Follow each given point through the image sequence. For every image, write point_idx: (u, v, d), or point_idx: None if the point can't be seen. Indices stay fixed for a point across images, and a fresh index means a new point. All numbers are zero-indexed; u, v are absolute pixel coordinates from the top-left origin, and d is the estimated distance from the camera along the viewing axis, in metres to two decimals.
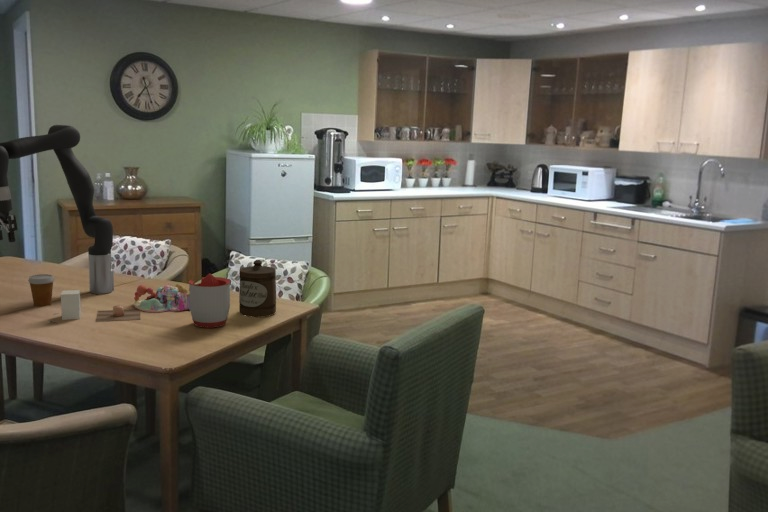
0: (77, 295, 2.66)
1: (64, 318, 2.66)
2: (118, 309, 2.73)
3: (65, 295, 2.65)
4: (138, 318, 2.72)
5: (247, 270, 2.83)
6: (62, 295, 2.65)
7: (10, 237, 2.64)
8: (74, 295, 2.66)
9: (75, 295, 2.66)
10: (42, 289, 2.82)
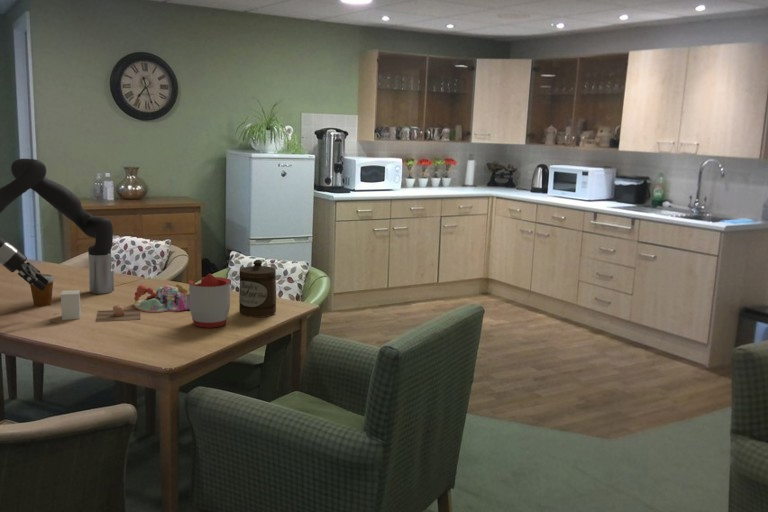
0: (77, 295, 2.66)
1: (64, 318, 2.66)
2: (118, 309, 2.73)
3: (65, 295, 2.65)
4: (138, 318, 2.72)
5: (247, 270, 2.83)
6: (62, 295, 2.65)
7: (38, 287, 2.60)
8: (74, 295, 2.66)
9: (75, 295, 2.66)
10: None
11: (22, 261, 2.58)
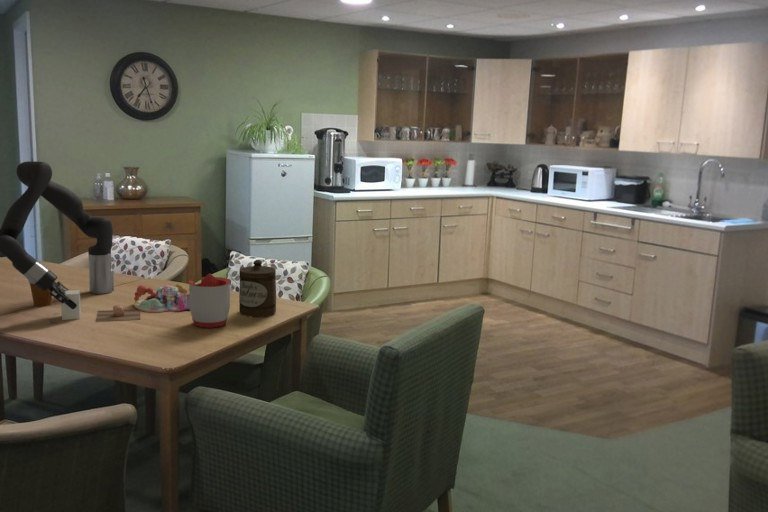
0: (77, 295, 2.66)
1: (64, 318, 2.66)
2: (118, 309, 2.73)
3: None
4: (138, 318, 2.72)
5: (247, 270, 2.83)
6: None
7: (69, 306, 2.65)
8: (74, 295, 2.66)
9: (75, 295, 2.66)
10: None
11: (53, 280, 2.63)
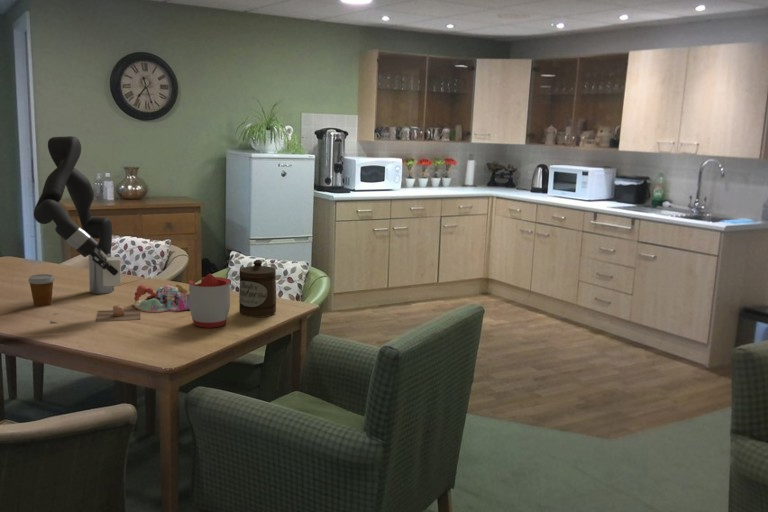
0: (118, 261, 2.68)
1: (105, 284, 2.68)
2: (118, 309, 2.73)
3: None
4: (138, 318, 2.72)
5: (247, 270, 2.83)
6: None
7: (111, 272, 2.67)
8: (115, 261, 2.68)
9: (116, 261, 2.68)
10: (42, 289, 2.82)
11: (95, 246, 2.65)
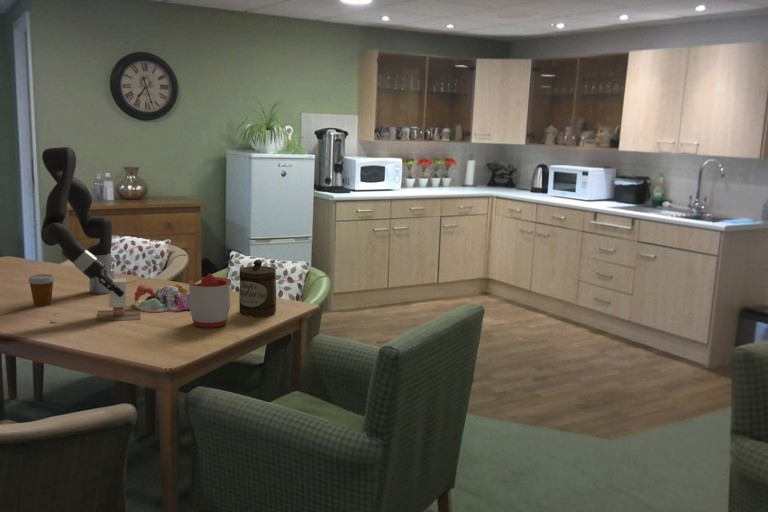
0: (124, 283, 2.70)
1: (111, 306, 2.70)
2: (118, 309, 2.73)
3: None
4: (138, 318, 2.72)
5: (247, 270, 2.83)
6: None
7: (117, 293, 2.69)
8: (121, 283, 2.70)
9: (122, 283, 2.70)
10: (42, 289, 2.82)
11: (101, 268, 2.67)
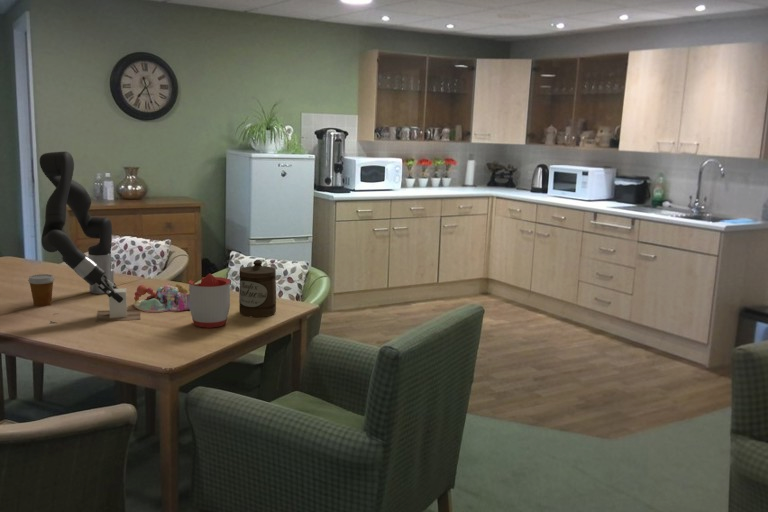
0: (124, 293, 2.71)
1: (112, 316, 2.71)
2: None
3: None
4: (138, 318, 2.72)
5: (247, 270, 2.83)
6: None
7: (116, 299, 2.69)
8: (122, 293, 2.71)
9: (122, 293, 2.71)
10: (42, 289, 2.82)
11: (101, 274, 2.67)
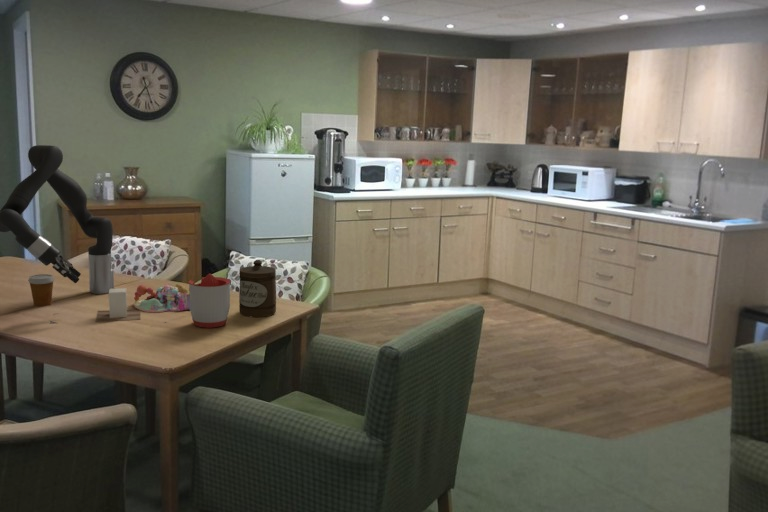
0: (124, 293, 2.71)
1: (112, 316, 2.71)
2: None
3: (113, 293, 2.70)
4: (138, 318, 2.72)
5: (247, 270, 2.83)
6: (110, 293, 2.69)
7: (72, 279, 2.65)
8: (122, 293, 2.71)
9: (122, 293, 2.71)
10: (42, 289, 2.82)
11: (56, 254, 2.63)
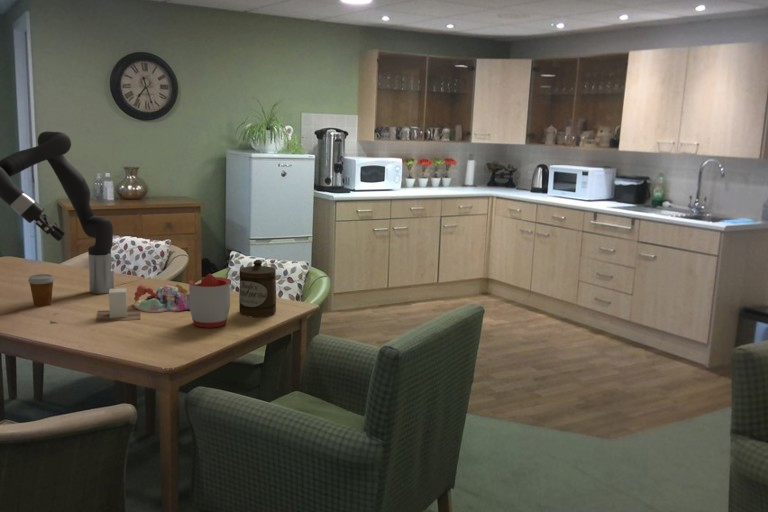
0: (124, 293, 2.71)
1: (112, 316, 2.71)
2: None
3: (113, 293, 2.70)
4: (138, 318, 2.72)
5: (247, 270, 2.83)
6: (110, 293, 2.69)
7: (55, 237, 2.64)
8: (122, 293, 2.71)
9: (122, 293, 2.71)
10: (42, 289, 2.82)
11: (39, 211, 2.62)
